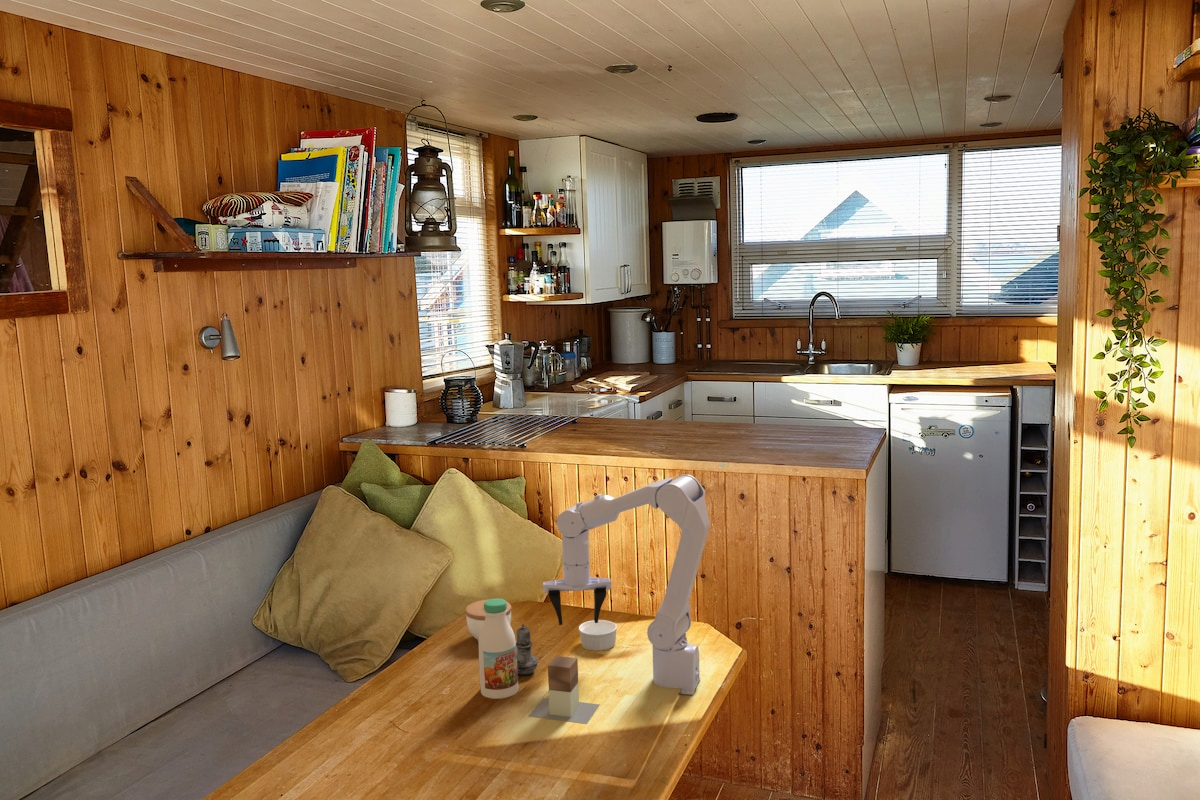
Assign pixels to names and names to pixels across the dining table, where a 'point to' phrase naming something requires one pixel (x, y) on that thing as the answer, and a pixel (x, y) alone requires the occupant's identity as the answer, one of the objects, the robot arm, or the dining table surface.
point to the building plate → (579, 716)
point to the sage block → (563, 702)
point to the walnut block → (563, 673)
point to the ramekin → (598, 635)
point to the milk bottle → (497, 653)
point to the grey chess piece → (525, 652)
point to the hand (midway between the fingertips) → (578, 622)
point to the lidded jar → (480, 617)
